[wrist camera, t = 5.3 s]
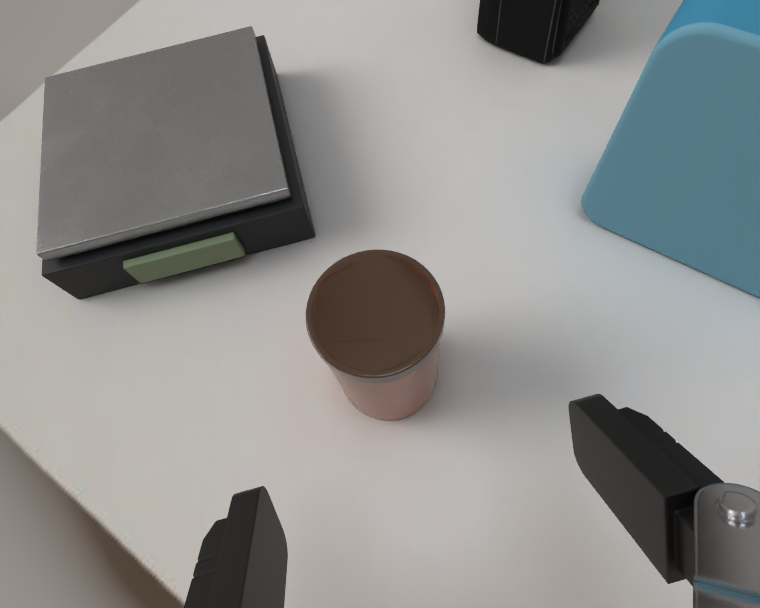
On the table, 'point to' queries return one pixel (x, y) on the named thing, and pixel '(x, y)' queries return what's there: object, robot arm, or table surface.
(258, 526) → the robot arm
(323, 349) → the spice tin
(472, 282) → the table surface
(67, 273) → the scale
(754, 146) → the data package
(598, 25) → the table surface
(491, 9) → the portable radio
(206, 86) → the scale pan
